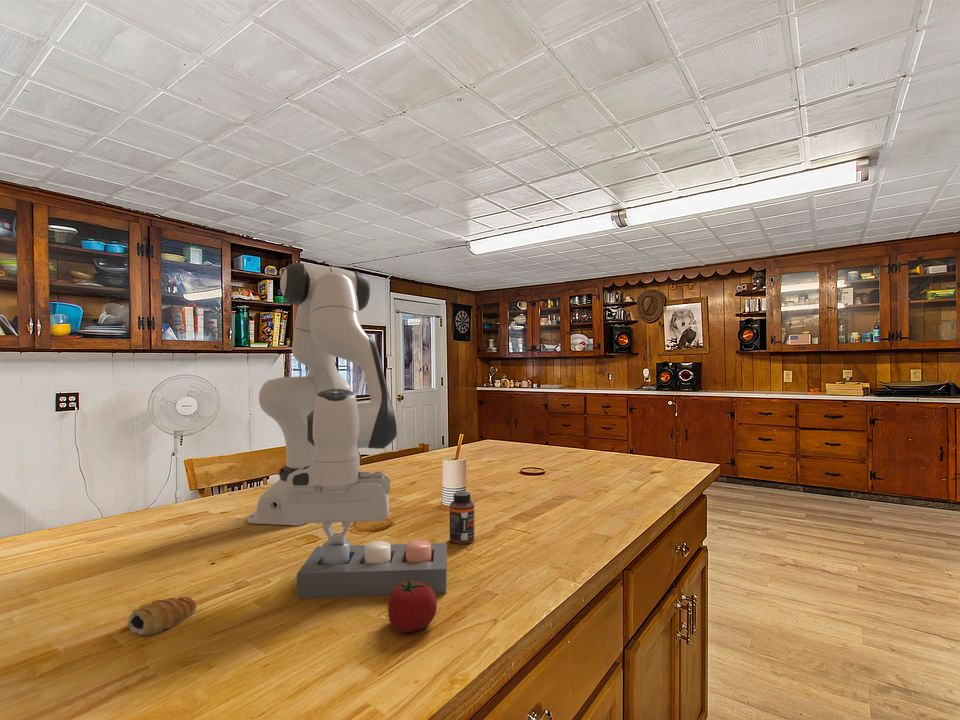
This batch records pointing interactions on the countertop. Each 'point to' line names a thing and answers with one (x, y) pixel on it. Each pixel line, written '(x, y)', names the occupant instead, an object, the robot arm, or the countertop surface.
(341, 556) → the slate button
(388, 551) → the ivory button
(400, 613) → the tomato
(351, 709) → the countertop surface
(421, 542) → the pink rounded block
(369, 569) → the egg tray
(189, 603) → the pastry
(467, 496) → the supplement bottle
